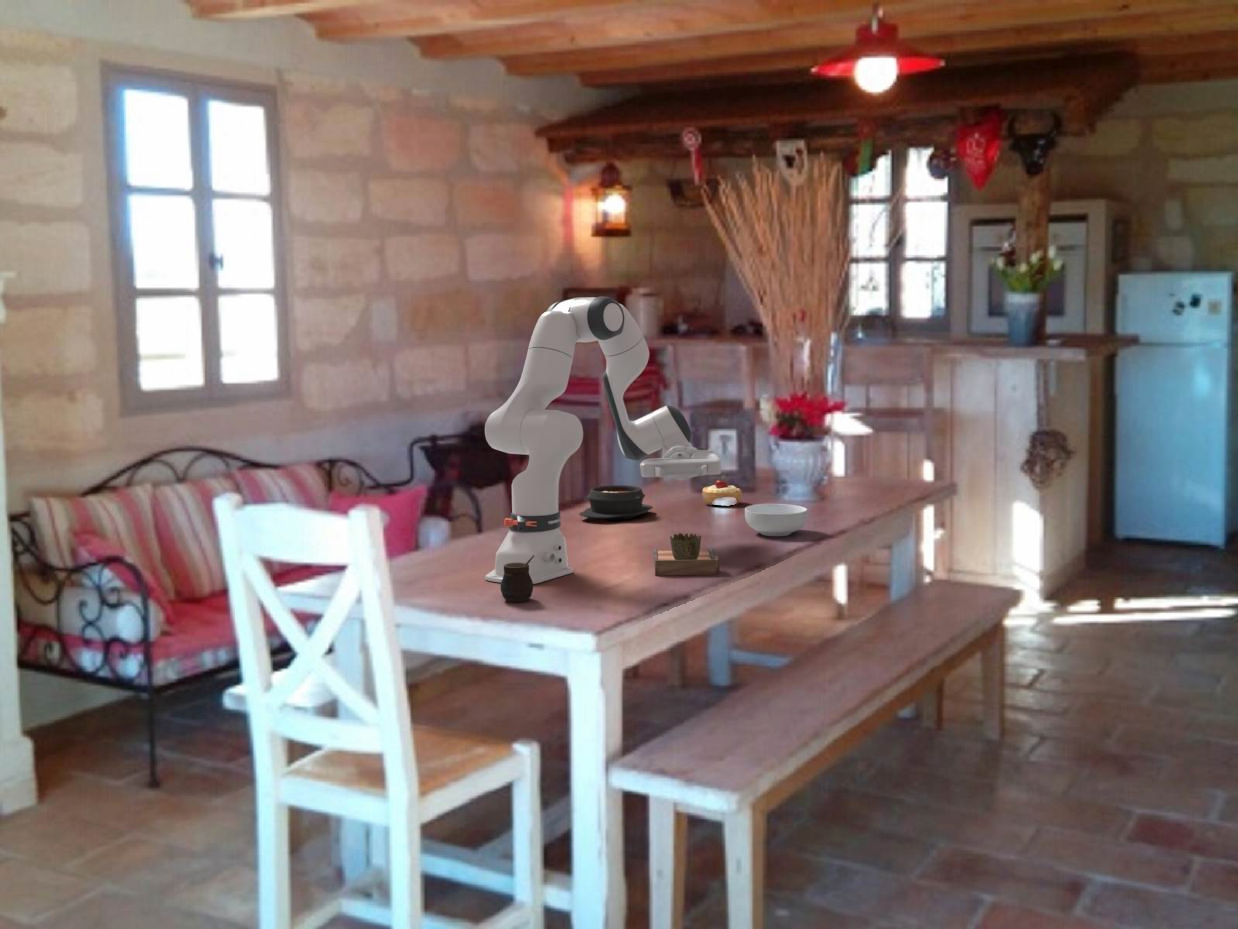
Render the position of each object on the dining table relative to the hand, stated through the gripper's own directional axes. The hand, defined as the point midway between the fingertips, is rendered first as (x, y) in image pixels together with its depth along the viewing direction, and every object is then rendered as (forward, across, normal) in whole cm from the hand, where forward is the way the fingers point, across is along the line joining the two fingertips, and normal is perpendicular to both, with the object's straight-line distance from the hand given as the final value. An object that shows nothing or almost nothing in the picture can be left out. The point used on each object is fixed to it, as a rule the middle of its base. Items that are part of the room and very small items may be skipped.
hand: (681, 473), depth 349 cm
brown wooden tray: (+6, 0, +21) cm, 22 cm away
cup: (+14, 0, +21) cm, 25 cm away
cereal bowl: (-29, +26, +24) cm, 46 cm away
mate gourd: (+45, -38, +18) cm, 61 cm away
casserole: (-59, -18, +25) cm, 67 cm away
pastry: (-78, +14, +27) cm, 84 cm away
